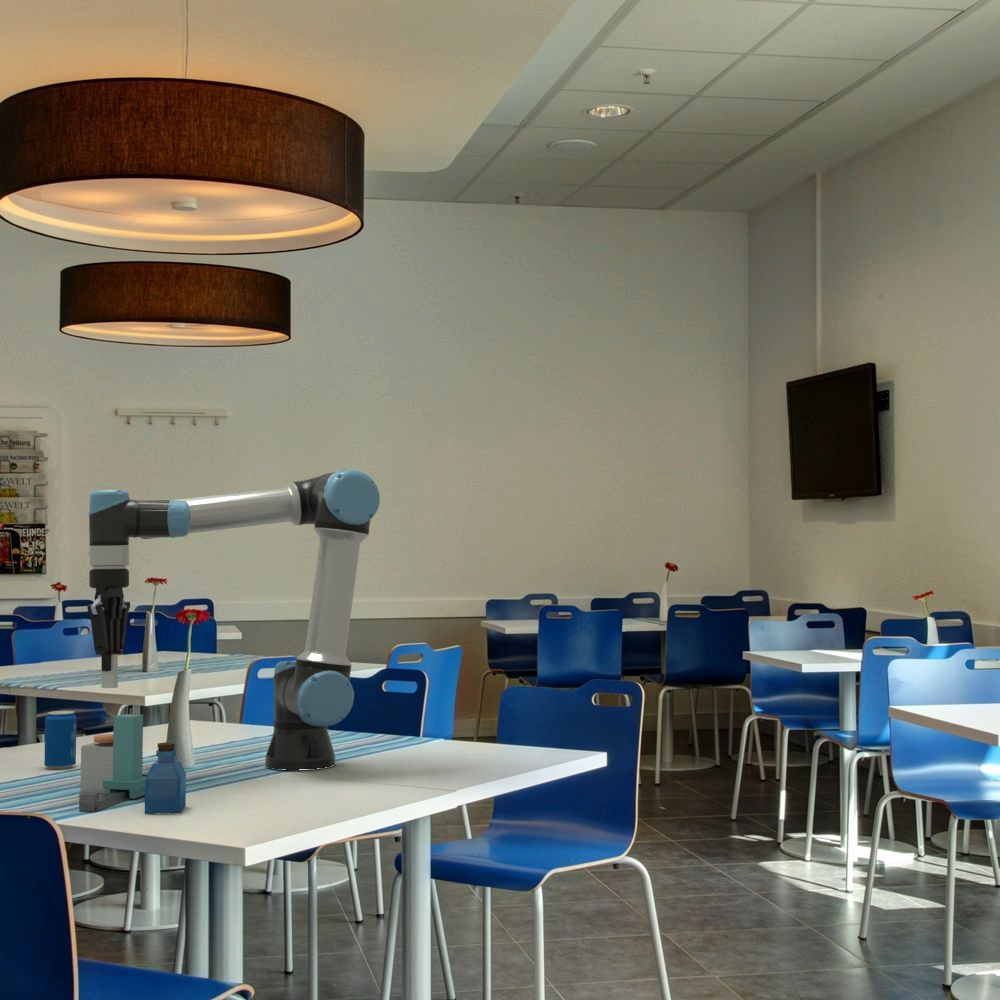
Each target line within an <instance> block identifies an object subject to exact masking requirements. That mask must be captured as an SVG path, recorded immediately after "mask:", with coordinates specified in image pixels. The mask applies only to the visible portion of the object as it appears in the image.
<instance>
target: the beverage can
mask: <svg viewBox="0 0 1000 1000" xmlns="http://www.w3.org/2000/svg"><path fill="white" fill-rule="evenodd" d="M44 720H45V721H44V762H43V763H44V766H45V767H46V768H47V769H48V770H56V771H57V770H60V771H61V770H68V769H69V770H70V769H72V768H73V766H75V765H76V763H77V762H76V761H77V716H76V715H75V711H73V710H56V711H49V712H47V715H46V717H45V719H44Z"/></svg>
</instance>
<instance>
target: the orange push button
mask: <svg viewBox="0 0 1000 1000" xmlns="http://www.w3.org/2000/svg"><path fill="white" fill-rule="evenodd" d="M95 742H97V743H99V745H103V746H112V745H113V734H112V733H108V734H106V733H105V734H96V735H94V736H93V743H95Z"/></svg>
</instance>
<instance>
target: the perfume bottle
mask: <svg viewBox="0 0 1000 1000" xmlns="http://www.w3.org/2000/svg"><path fill="white" fill-rule="evenodd" d="M175 747H176V742H159V743H157V750H156V755H155V756H156V757H157V760H156V761H154V762H153V763H152V764H151V766H150V769H149V770H148V772H147V773H148V774H147V776H146V778H145V795H144V815H156V814H155V813H180V812H181V811H182V812H183V811H184V809H185V808H186V806H187V805H186V804H187V803H186V802H187V801H186V799H187V797H186V796H187V792H186V791H187V790H186V789H187V773H186V770H185V769H184V766H183V765H182V763H181V761H180V760H178V759H175V757H176V753H177V750H176V749H175ZM182 812H181V813H182ZM181 813H180V814H181Z"/></svg>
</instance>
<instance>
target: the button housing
mask: <svg viewBox="0 0 1000 1000" xmlns="http://www.w3.org/2000/svg"><path fill="white" fill-rule="evenodd" d="M110 778H113V745H112V746H103V745H99V743H97V742H91V743H88V744H84V745H81V746H80V793H79V794H82V793H96V794H99V795H103V794H105V789H103V781H104V780H107V779H110Z"/></svg>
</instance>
